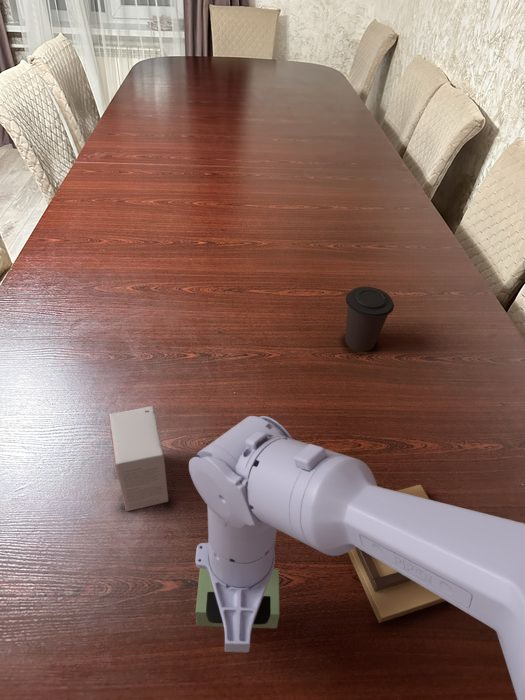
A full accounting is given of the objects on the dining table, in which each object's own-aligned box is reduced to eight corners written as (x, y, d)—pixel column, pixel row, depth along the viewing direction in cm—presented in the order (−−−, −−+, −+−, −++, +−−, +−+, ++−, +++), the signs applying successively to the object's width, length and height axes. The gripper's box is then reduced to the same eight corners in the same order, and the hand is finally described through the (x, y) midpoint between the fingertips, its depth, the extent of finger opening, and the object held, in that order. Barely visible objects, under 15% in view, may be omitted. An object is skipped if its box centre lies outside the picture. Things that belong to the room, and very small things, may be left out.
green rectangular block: (276, 628, 52) (279, 614, 50) (196, 626, 52) (195, 612, 49) (276, 583, 55) (278, 568, 53) (200, 580, 55) (200, 565, 53)
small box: (118, 462, 71) (107, 412, 64) (159, 453, 73) (153, 403, 66) (125, 513, 66) (114, 465, 59) (169, 503, 67) (163, 454, 60)
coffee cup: (391, 344, 93) (405, 299, 86) (362, 363, 89) (374, 318, 82) (357, 321, 97) (368, 276, 91) (328, 338, 93) (336, 293, 86)
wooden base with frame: (477, 590, 61) (485, 580, 60) (379, 623, 58) (384, 613, 56) (417, 490, 71) (423, 479, 69) (330, 513, 68) (333, 502, 66)
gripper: (202, 456, 49) (204, 529, 58) (184, 621, 38) (190, 678, 47) (277, 459, 49) (268, 531, 58) (280, 624, 38) (268, 680, 47)
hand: (238, 597), depth 53 cm, fingers closed on green rectangular block, 4 cm apart
